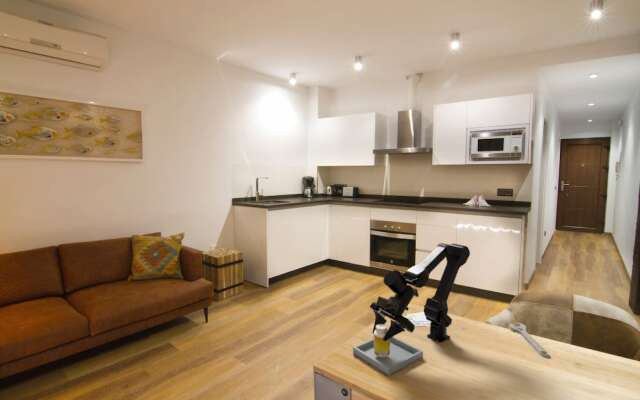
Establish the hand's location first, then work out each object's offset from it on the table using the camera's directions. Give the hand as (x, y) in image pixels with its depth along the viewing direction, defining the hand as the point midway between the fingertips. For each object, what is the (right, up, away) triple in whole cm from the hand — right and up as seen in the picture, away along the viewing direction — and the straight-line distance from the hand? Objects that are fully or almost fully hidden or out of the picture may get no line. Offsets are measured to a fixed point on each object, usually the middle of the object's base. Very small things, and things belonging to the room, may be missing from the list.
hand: (378, 337), depth 122 cm
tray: (+4, -8, +3) cm, 9 cm away
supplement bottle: (+1, -7, +1) cm, 7 cm away
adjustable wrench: (+60, -6, +12) cm, 61 cm away
